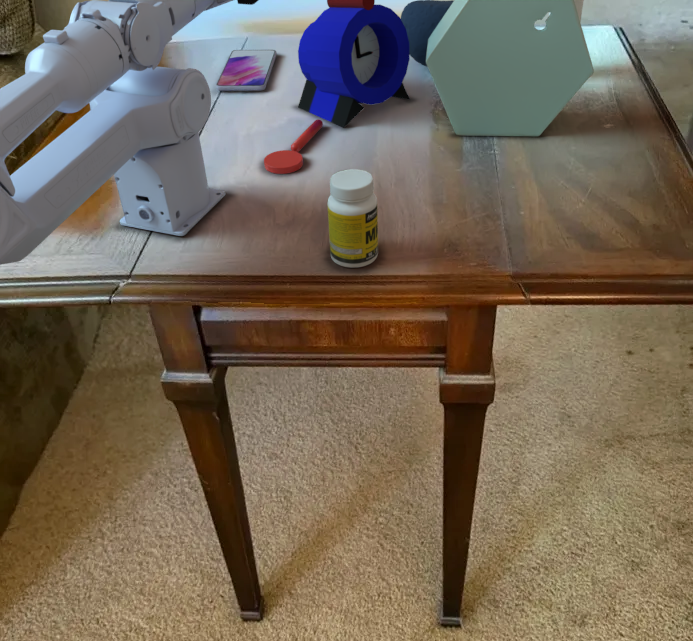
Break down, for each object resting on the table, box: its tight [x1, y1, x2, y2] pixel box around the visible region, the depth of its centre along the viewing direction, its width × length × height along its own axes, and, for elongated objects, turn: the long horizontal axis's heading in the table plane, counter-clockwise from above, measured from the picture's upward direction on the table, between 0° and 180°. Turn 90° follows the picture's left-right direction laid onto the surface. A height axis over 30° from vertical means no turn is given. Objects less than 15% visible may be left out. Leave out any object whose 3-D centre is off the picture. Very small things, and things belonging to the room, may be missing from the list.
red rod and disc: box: [263, 119, 324, 175], centre depth 94 cm, size 13×5×1 cm, turn 158°
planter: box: [426, 0, 595, 137], centre depth 92 cm, size 17×8×21 cm
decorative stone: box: [400, 0, 454, 68], centre depth 110 cm, size 12×12×10 cm
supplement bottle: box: [326, 168, 379, 269], centre depth 72 cm, size 5×5×8 cm
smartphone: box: [215, 49, 278, 92], centre depth 114 cm, size 7×1×15 cm
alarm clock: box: [297, 0, 411, 128], centre depth 100 cm, size 12×12×15 cm
